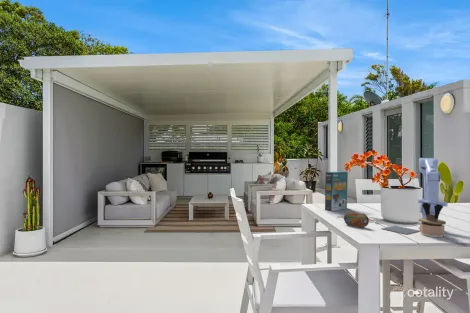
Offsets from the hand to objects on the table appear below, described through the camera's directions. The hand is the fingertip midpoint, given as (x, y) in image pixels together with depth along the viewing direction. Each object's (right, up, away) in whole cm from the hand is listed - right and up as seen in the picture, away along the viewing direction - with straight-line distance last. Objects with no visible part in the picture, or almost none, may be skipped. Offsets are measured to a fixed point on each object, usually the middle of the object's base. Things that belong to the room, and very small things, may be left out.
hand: (432, 217), depth 181 cm
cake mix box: (-28, -9, +81) cm, 86 cm away
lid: (0, -2, 0) cm, 2 cm away
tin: (-35, -9, +19) cm, 41 cm away
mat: (-13, -9, +10) cm, 18 cm away
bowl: (0, -10, 0) cm, 10 cm away
